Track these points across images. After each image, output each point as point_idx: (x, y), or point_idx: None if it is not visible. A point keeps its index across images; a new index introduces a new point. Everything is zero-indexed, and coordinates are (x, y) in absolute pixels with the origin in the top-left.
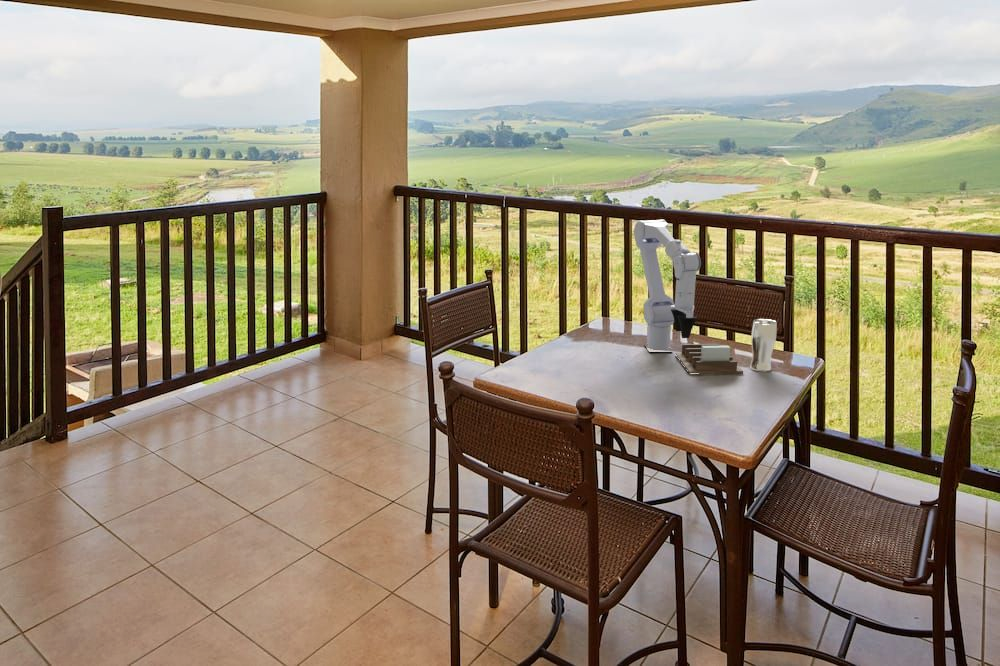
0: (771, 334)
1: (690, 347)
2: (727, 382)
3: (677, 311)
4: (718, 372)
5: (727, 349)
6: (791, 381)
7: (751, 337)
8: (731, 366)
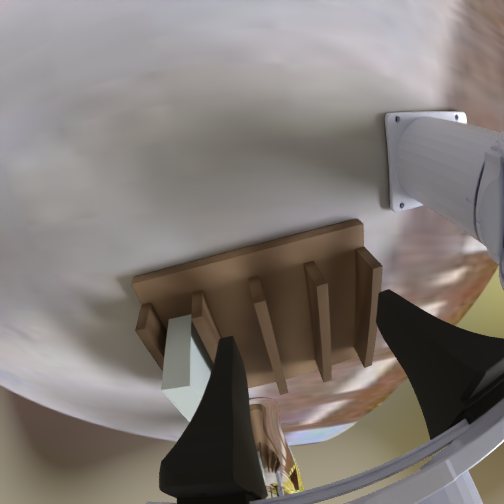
0: None
1: (366, 289)
2: (118, 363)
3: (457, 397)
4: None
5: None
6: None
7: (269, 469)
8: None
